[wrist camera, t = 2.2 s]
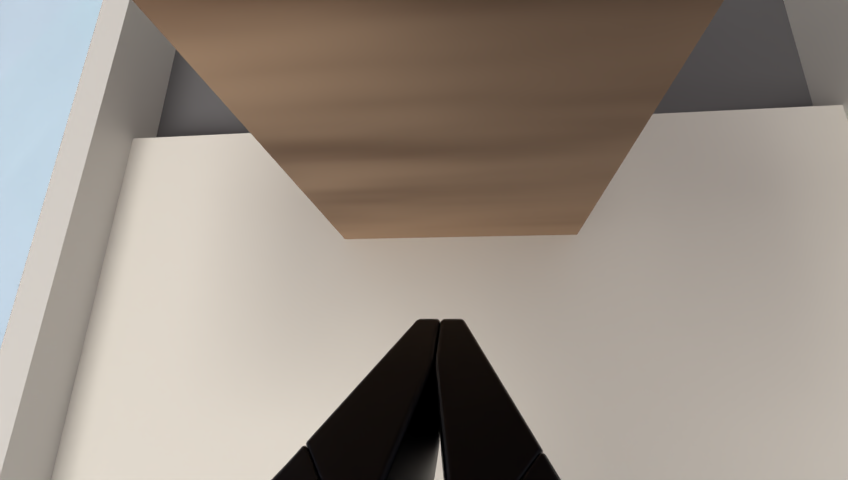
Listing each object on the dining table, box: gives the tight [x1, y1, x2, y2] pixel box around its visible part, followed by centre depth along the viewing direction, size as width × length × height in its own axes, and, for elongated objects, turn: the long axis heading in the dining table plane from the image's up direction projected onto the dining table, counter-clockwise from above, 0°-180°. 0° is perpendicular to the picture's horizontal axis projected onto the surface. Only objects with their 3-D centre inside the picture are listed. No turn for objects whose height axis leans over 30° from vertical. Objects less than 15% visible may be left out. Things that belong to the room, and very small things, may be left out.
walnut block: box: [133, 0, 724, 239], centre depth 12 cm, size 9×8×11 cm
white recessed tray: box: [0, 0, 848, 480], centre depth 17 cm, size 34×29×3 cm
